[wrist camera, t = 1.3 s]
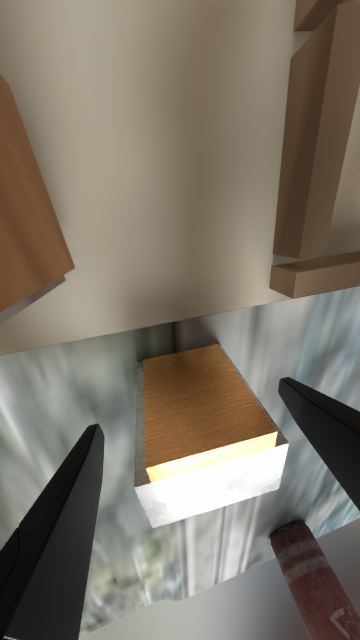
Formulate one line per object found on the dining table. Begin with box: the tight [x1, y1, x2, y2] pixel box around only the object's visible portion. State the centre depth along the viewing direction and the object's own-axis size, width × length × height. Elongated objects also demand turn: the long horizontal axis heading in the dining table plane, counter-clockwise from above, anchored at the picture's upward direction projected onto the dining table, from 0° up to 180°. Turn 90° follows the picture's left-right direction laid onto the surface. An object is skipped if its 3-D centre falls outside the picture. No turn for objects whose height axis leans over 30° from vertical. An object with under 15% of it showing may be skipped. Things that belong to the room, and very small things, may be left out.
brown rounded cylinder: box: [271, 521, 360, 640], centre depth 22 cm, size 6×6×14 cm
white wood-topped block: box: [134, 344, 289, 529], centre depth 9 cm, size 4×5×6 cm
